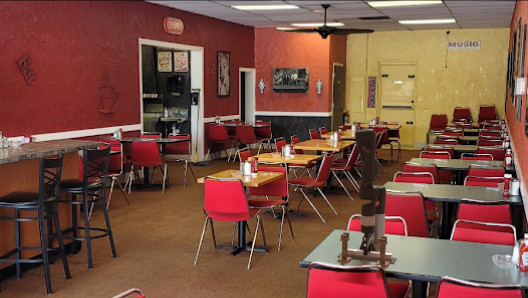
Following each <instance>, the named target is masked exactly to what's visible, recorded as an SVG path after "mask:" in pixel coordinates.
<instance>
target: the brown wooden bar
mask: <svg viewBox="0 0 528 298" xmlns="http://www.w3.org/2000/svg"><path fill="white" fill-rule="evenodd" d="M347 256H356V257H365V258H373V259H380V251H376V250H375V251H368V255H367V256H365V255H363V250H359V249H355V248H354V249H353V248H348V251H347ZM392 257H393V253H391V252H385V260H392Z"/></svg>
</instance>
